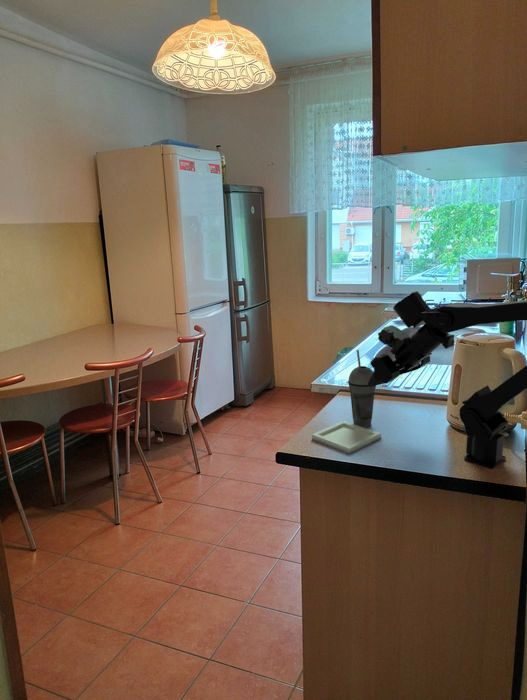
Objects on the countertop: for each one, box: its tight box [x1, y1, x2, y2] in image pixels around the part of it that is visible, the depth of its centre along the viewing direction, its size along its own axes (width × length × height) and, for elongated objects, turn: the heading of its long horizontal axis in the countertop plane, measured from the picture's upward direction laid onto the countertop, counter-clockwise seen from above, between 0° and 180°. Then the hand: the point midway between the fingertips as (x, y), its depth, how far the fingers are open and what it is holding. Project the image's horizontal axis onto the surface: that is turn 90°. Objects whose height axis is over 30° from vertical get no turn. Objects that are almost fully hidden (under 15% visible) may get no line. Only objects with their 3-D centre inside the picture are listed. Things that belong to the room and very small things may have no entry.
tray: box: [311, 420, 382, 455], centre depth 129 cm, size 12×12×1 cm
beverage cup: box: [347, 349, 377, 428], centre depth 135 cm, size 7×7×20 cm
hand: (379, 380), depth 131 cm, fingers open, 9 cm apart
